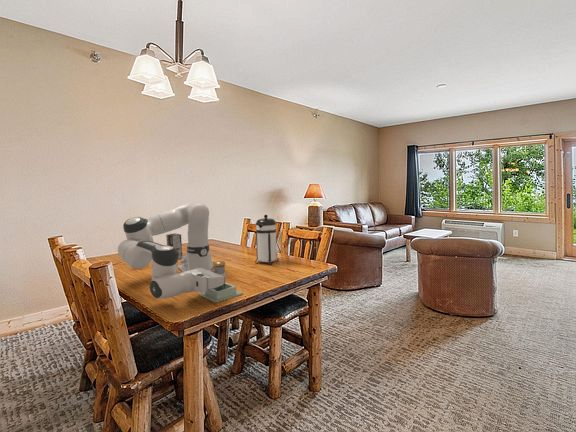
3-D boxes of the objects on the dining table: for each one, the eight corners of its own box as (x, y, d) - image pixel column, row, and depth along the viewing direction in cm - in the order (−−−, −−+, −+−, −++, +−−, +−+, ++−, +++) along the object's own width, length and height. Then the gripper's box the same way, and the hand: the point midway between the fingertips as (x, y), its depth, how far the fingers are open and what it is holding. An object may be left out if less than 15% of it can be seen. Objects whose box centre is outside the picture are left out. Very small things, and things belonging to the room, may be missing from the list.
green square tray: (198, 294, 138) (198, 287, 138) (225, 287, 148) (224, 279, 148) (215, 303, 128) (215, 294, 128) (242, 294, 138) (242, 286, 138)
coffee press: (283, 264, 188) (282, 215, 185) (257, 266, 184) (256, 216, 181) (276, 257, 205) (275, 212, 202) (252, 259, 200) (250, 213, 197)
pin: (212, 293, 138) (210, 262, 136) (222, 290, 142) (221, 260, 140) (218, 296, 134) (217, 264, 133) (228, 293, 138) (227, 262, 136)
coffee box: (182, 258, 207) (181, 234, 205) (173, 260, 202) (172, 235, 201) (176, 256, 213) (175, 233, 212) (167, 257, 209) (165, 234, 207)
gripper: (181, 282, 136) (209, 275, 145) (205, 293, 121) (234, 285, 131) (180, 268, 135) (208, 262, 145) (204, 277, 121) (234, 270, 130)
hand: (221, 273), depth 138 cm, fingers closed on pin, 4 cm apart
